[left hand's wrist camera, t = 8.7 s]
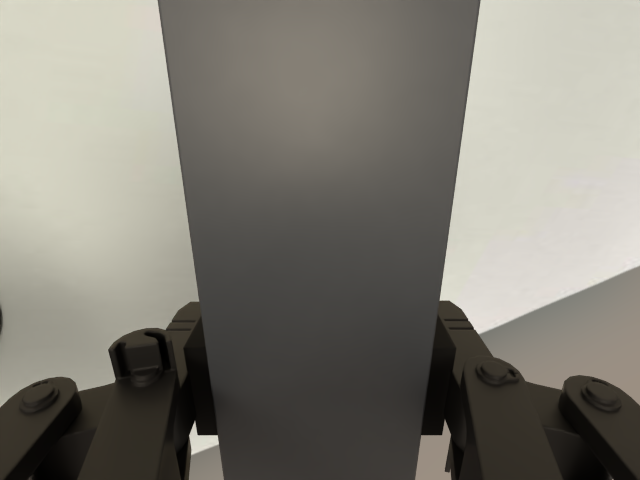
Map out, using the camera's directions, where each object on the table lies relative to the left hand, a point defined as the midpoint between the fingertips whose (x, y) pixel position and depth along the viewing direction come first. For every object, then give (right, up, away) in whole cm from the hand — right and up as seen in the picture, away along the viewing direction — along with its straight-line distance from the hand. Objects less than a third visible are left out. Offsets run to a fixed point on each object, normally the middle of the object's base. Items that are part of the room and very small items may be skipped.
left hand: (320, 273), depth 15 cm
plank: (0, +26, -9) cm, 28 cm away
